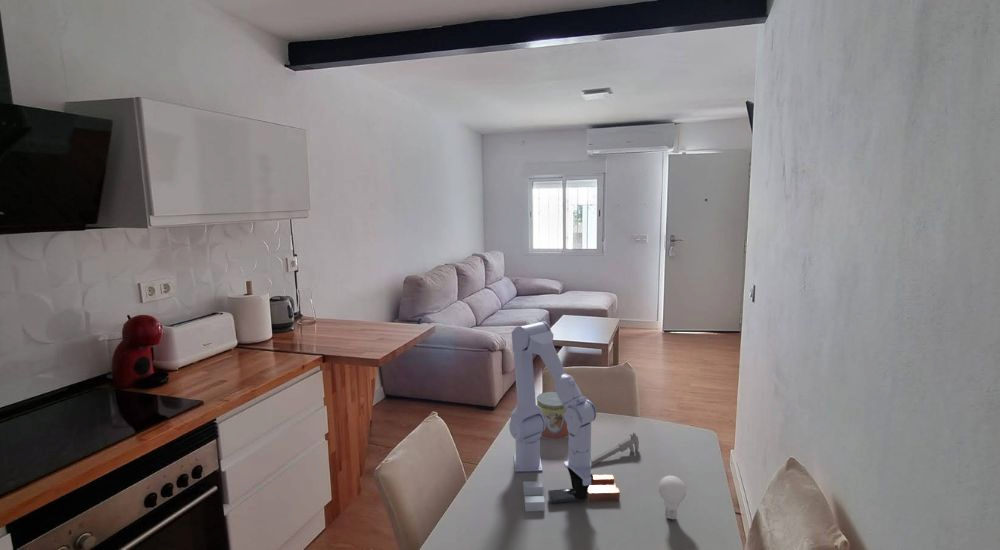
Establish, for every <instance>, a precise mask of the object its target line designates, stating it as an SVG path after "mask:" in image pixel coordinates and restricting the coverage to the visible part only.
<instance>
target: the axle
mask: <svg viewBox="0 0 1000 550" xmlns="http://www.w3.org/2000/svg"><path fill="white" fill-rule="evenodd" d="M547 491H548V492H547V496H548V502H549V504H554V503H564V502H565V503H567V502H575V501H576V502H577V501H580V500H577V497H576V493H575V488H561V489H551V490H547ZM586 500H588V492H587V494H586V497H585V499H582V500H581V501H586ZM588 501H589V500H588Z"/></svg>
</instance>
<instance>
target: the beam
mask: <svg viewBox="0 0 1000 550" xmlns="http://www.w3.org/2000/svg"><path fill="white" fill-rule="evenodd" d="M522 483H523V484H522V485H523V486H522V487H523V489H522V490H523V496H524V511H525V512H545V511H546V508H545V507H546V502H545V496H544V495H543V482H542V481H541V480H539V481H538V480H537V481H534V480H533V481H523V482H522Z"/></svg>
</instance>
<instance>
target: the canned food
mask: <svg viewBox="0 0 1000 550" xmlns="http://www.w3.org/2000/svg"><path fill="white" fill-rule="evenodd" d="M536 405H537V406H539V407H540V408H541V409H542V410H543V416H544V419H545V422H546V427H545V430H544V431H543V432H542V436H540V438H544V439H546V440H551V441H552V440H553V441H556V440H557V441H559V440H564V439H566V438H569V432H568V429H567V423H566V421H565V418H564V413H565V411H566V410H565V408H564V406H563V404H562V402H561V400H560V398H559V396H558V394H557V393H556V391H546V392H542V393H540V394H538V395H537V396H536Z"/></svg>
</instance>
